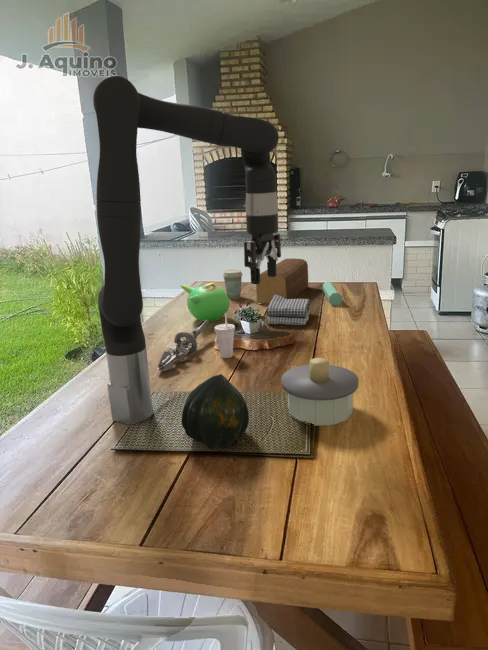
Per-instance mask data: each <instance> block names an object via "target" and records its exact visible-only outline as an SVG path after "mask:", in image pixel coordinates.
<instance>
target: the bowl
mask: <svg viewBox="0 0 488 650" xmlns="http://www.w3.org/2000/svg"><path fill="white" fill-rule="evenodd" d="M287 409H289V410H288V414H289V413H290V414H291V415H292V416H294V417H296V418H297V419H299V420H302V421H307V422H310V423H312V424H314V425H313V426H315V427H317V426H335V425H337V424H341V423H343V422H345V421H348V420H349V418H350V417H351V415H352V414H353V413H354V393H352V394H350V395H348V396H346V397H343V398H339V399H333V400H308V399H303V398H299V397H296V396H293V395H291V394H289V393H287Z"/></svg>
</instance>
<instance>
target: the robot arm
mask: <svg viewBox="0 0 488 650" xmlns="http://www.w3.org/2000/svg"><path fill="white" fill-rule="evenodd" d="M92 100H93V102H92V103H93V108H94V111H95V115H96V122H97V130H98V132H97V133H98V140H99V142H98V143H99V156H98V157H99V159H98V168H97V178H96V195H95V197H96V219H97V229H98V235H99V240H100V241H99V242H100V245H101V246H100V247H101V250H102V254H103V255H102V256H103V261H104V263H103V264H104V283H103V284H104V285H102V287H101V288H100V290H99V292H98V297H97V303H98V310H99V311H98V312H99V318H100V326H101V331H102V336H103V342H104V347H105V353H106V354H105V355H106V360H107V361H106V362H107V368H108V376H109V383H107V391H108V398H109V400H108V401H109V405H110V413H111V419H112V421H114V422H116V423H117V422H119V423H121V424H125V425H128V426H132V425H134V424H138V423H141V422H144V421H146V420H148V419H149V417H150V416H151V415H152V414H153V415H154V406H153V405H154V404H153V398H152V395H153V394H152V388H151V380H150V371H149V362H148V354H147V343H146V336H145V333H144V330H143V329H144V328H143V325H142V321H141V314H142V311H143V309H144V307H143V306H144V300H143V295H142V285H141V277H140V276H141V275H140V249H141V224H142V221H141V220H142V210H141V209H142V207H141V206H142V203H141V200H142V199H141V197H142V196H141V183H140V175H139V174H140V173H139V163H138V157H137V156H138V155H137V154H138V153H137V145H138V144H137V143H138V142H137V139H138V129H145V130H152V131H159V132H163V133H168V134H172V135H176V136H179V137H183V138H188V139H190V140H195V141H198V142H203V143H206V144H211V145H216V146H221V147H233V148H238V149H240V151H241V157H242V162H243V166H244V171H245V219H246V220H245V223H246V226H245V227H246V233H247V234H249V235H250V236H251V240H245V241H244V242H243V254H244V255H243V256H244V259H243V261H244V262H243V263H244V267H245V268H248V269H249V270H250V283H251V284H252V285H256V284H260V274H261V264H262V261H264V260H265V258H266V260H267V262H266V265H267V266H266V267H267V269H266V270H267V273H268V276H269V277H275V276H276V275H277V271H276V264H277V262H278V260H279V258H281V256H282V251H281V250H282V247H281V235H280V233H278V232H279V211H278V210H279V208H278V207H279V205H278V203H279V202H278V197H277V175H276V170H275V168H274V167H273V165H272V163H271V162H272V161H271V152H272V151H274V150H275V149H276V147H277V146H278V143H279V140H280V139H279V137H280V136H279V132H278V129H277V128H276V126H275V125H274V124H273V123H272V122H270V121H268V120H265V119H260V118H256V117H250V116H242V115H235V114H231V113H228V112H224V111H222V110H218V109H214V108H210V107H206V106H200V105H195V104H194V105H193V104H187V103H177V102H173V101H172V102H171V101H165V100H161V99H157V98H154V97H151V96H148V95H145V94H142V93H140V92H138V90H137V88H136V86H135V85H134V84H133V83H132V82H131V81H130V80H128V78H126V77H124V76H121V75H117V74H115V75H114V74H113V75H109V76H107V77H105V78H103V79H101V80H100V81H99V83H98V84H97V85H96V86H95V89H94V92H93V99H92ZM153 415H152V416H153ZM152 416H151V417H152ZM151 417H150V418H151ZM147 418H148V419H147ZM143 420H144V421H143ZM137 422H138V423H137Z"/></svg>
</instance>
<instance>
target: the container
mask: <svg viewBox="0 0 488 650" xmlns="http://www.w3.org/2000/svg"><path fill="white" fill-rule="evenodd" d="M322 291H323V293H324V295H325V296H326V297H327V299H328V303H329V304H330V305H331V306H334V307H335V306H340V305H341V304H342V303H343V298H344V297H343V295H342V294H341V293H340V292H338V290H337V289H336V287H335V286H334V284H333V283H331V282H330V281H326V282H324V283H323V284H322Z"/></svg>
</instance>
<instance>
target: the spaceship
mask: <svg viewBox="0 0 488 650" xmlns="http://www.w3.org/2000/svg"><path fill="white" fill-rule="evenodd" d="M209 323H210V321H209V320H206V321H203V322H202V324H200V325H199V326H197V327H195V329H193V330H192V331H191V332H188V331H179V332H177V333H176V335H175V336H174V342H171V341H170V342H169V343H168V344H167V345H166V347H168V349H166V350H164V351H163V353H162V355H161V357H160V359H159V363H158V364H157V371H160V373H161V372H166V371H169V370H171V369H174V366H175V365H174V363H175V361H176V360H180V361H185V360H186V359H187V358H188V357H189V356H187V355H192V354H194V353H196V351H197V348H198V342H197V339H198V336H199V335H200V334H201V333H203V331H204V330H205V329H206V327H208V326H209V325H208V324H209ZM181 339H183V340H181ZM189 346H190V347H189Z"/></svg>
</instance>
